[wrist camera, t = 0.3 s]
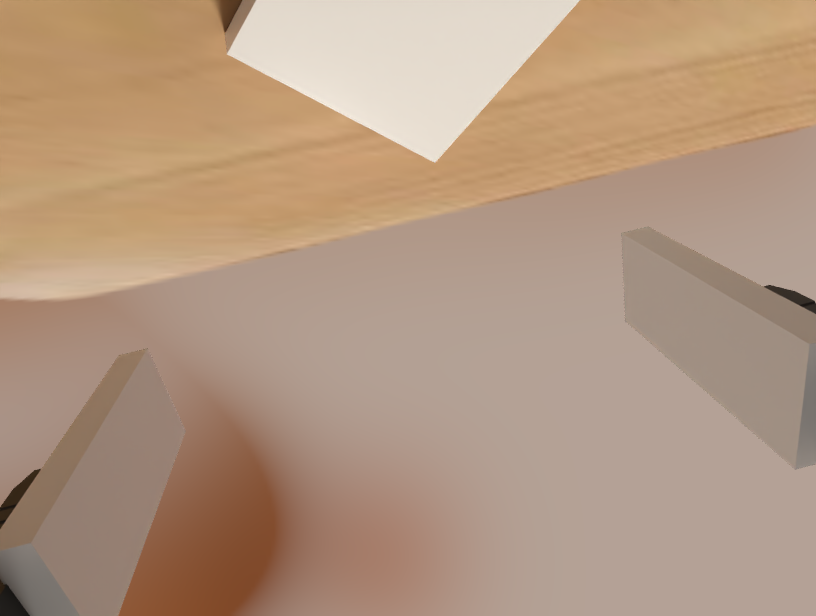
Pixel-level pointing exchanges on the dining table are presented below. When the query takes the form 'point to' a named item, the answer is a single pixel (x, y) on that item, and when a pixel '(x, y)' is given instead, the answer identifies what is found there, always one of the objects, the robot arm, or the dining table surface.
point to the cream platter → (395, 57)
